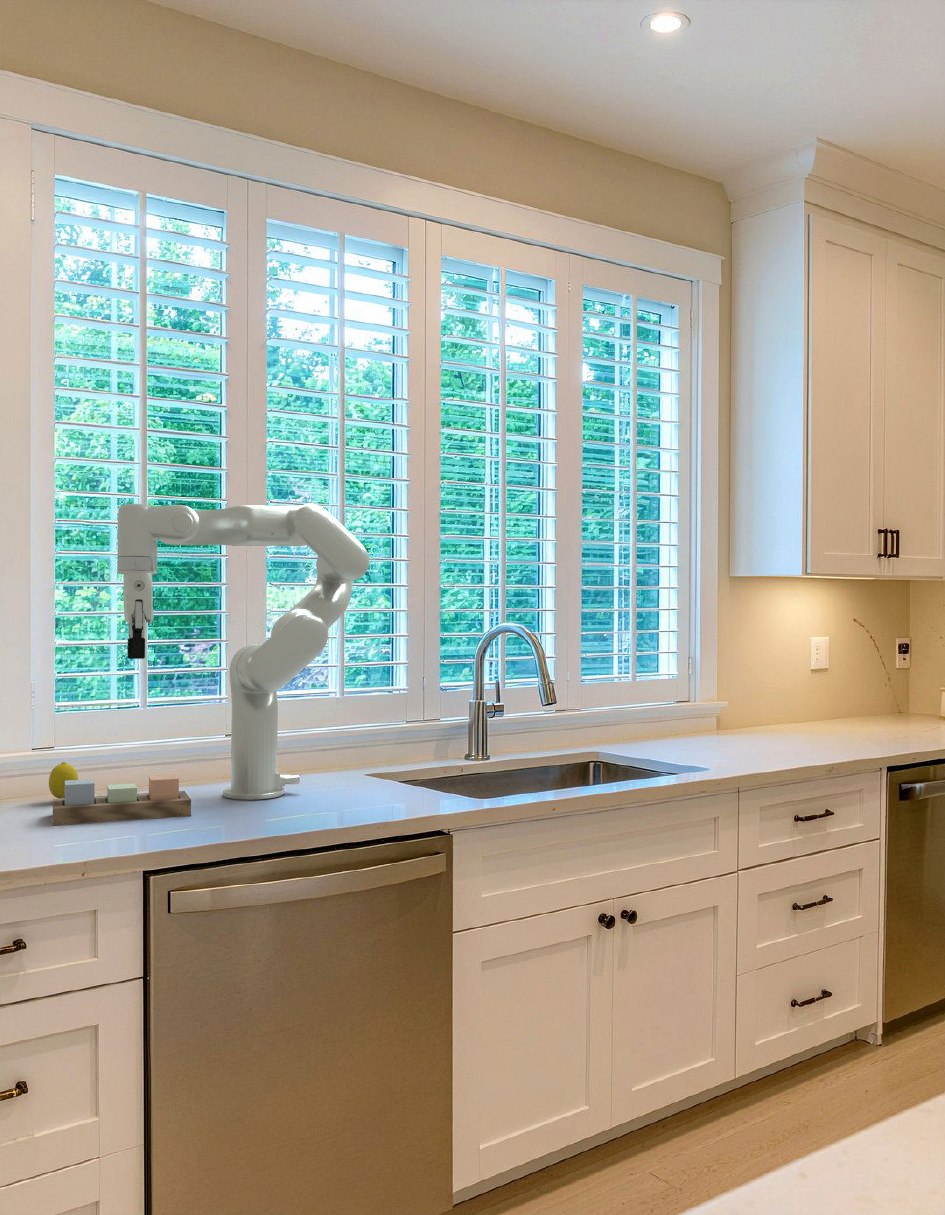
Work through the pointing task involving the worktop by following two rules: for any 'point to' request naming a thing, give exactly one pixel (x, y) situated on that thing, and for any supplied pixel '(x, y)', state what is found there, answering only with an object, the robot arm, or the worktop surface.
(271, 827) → the worktop surface
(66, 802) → the button slate
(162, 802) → the button board
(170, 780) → the button terracotta
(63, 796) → the lemon
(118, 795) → the button sage
